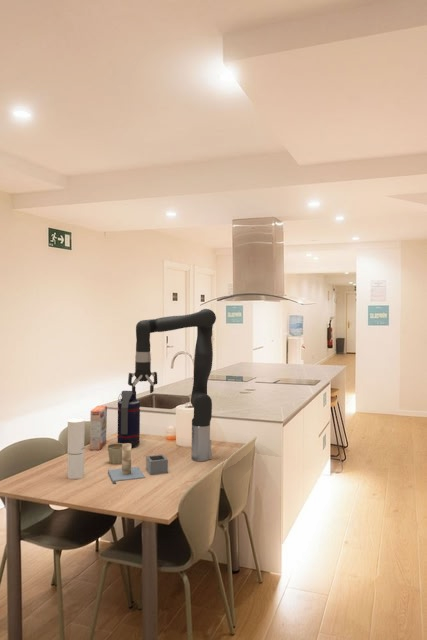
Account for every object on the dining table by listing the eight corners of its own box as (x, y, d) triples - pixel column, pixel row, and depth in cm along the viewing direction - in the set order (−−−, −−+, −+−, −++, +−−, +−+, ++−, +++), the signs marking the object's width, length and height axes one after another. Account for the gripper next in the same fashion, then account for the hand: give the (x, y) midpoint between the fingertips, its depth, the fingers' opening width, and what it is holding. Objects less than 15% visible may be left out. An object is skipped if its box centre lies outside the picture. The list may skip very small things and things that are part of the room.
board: (138, 469, 222) (138, 466, 222) (145, 480, 209) (145, 476, 209) (107, 473, 216) (107, 469, 216) (113, 484, 203) (113, 480, 203)
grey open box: (162, 469, 223) (163, 454, 223) (167, 474, 215) (167, 459, 215) (146, 471, 220) (146, 456, 220) (150, 477, 212) (150, 461, 212)
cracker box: (100, 450, 250) (101, 411, 250) (89, 450, 250) (89, 410, 250) (107, 442, 264) (107, 405, 264) (96, 442, 264) (96, 405, 264)
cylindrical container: (87, 474, 214) (87, 419, 214) (77, 479, 208) (78, 422, 207) (73, 472, 217) (74, 417, 216) (64, 477, 210) (64, 421, 209)
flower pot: (121, 467, 224) (122, 449, 224) (103, 466, 226) (103, 448, 226) (129, 461, 233) (129, 443, 233) (111, 459, 235) (111, 442, 235)
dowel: (129, 471, 215) (130, 442, 215) (131, 474, 211) (132, 445, 211) (121, 472, 214) (121, 443, 213) (122, 475, 210) (123, 446, 209)
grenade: (121, 441, 267) (122, 388, 266) (142, 443, 265) (142, 389, 264) (113, 449, 253) (113, 392, 252) (134, 450, 251) (135, 393, 250)
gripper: (155, 359, 241) (154, 391, 242) (127, 360, 236) (126, 392, 236) (159, 361, 234) (158, 394, 235) (130, 362, 229) (130, 395, 229)
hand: (142, 393), depth 235 cm, fingers open, 8 cm apart
